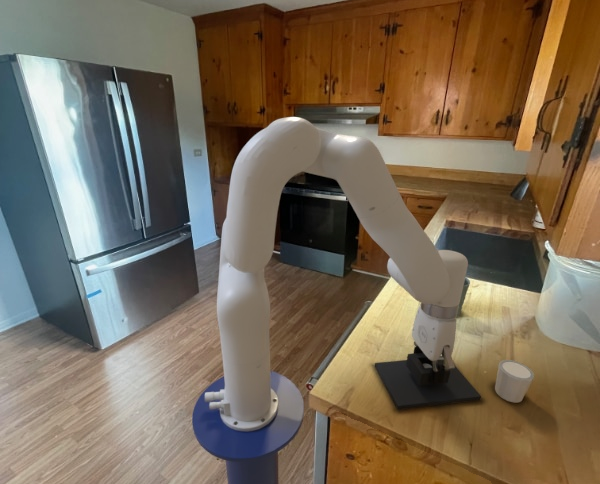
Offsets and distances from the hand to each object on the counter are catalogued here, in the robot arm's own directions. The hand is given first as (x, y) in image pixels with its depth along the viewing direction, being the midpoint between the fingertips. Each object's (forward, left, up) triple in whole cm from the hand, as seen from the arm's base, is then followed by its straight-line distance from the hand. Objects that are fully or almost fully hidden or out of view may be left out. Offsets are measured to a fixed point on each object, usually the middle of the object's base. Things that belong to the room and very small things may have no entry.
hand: (426, 370), depth 78 cm
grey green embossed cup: (+24, +30, -4) cm, 39 cm away
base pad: (0, 0, -4) cm, 4 cm away
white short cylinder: (+18, -6, -4) cm, 19 cm away
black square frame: (0, 0, -1) cm, 1 cm away
